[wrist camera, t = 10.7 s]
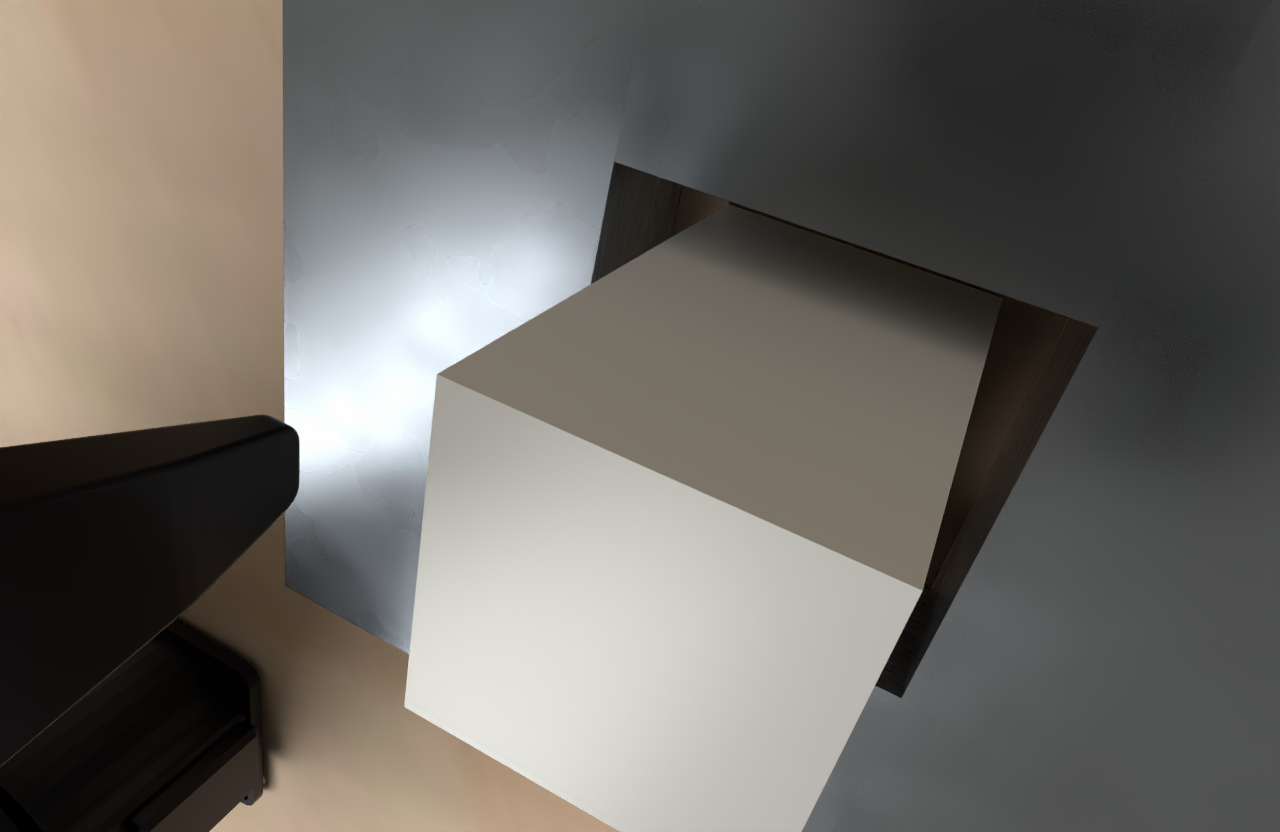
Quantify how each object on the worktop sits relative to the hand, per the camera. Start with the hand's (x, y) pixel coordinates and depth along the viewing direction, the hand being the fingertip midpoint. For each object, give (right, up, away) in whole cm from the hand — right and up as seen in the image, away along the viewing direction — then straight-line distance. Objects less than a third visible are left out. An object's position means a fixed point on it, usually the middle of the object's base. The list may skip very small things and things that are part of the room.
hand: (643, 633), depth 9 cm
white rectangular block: (+3, +3, +6) cm, 8 cm away
